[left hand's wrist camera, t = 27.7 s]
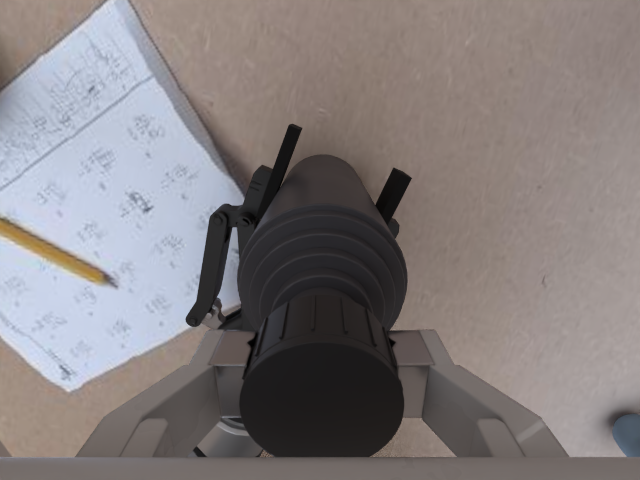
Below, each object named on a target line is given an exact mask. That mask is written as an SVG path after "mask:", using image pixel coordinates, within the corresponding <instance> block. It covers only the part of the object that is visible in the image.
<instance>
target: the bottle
mask: <svg viewBox="0 0 640 480" xmlns="http://www.w3.org/2000/svg"><path fill="white" fill-rule="evenodd" d="M237 284H238V292H239V296H240V300H241V303H242V306H243V309H244V312H245V314H246V317H247V318H248V320H249V322H250V324H251V325H252V327H253V328H254V329H255V330H258V332H259V330H260V327H261V326H262V324H263V323H264V319H265V318H266V317H267V318H268V316H269V315H270V314H271V313H272V312H274V311H275V310H276V309H277V308H279V307H280V306H282V305H283V304H285V303H286V302H289V301H291V300H294V299H297V298H300V297H304V296H309V295H319V294H320V295H334V296H339V297H344V298H347V299H349V300H352V301H354V302H356V303H358V304H360V305H361V306H363V307H364V308H367V309H369V311H370V312H371V313H372V314H373V315H374V316H375V317H376V318H377V320H378V321H379V322H380V324H381V325H382V327H385V329H386V331H389V330H390V329H391V328H392V326H393V325H394V323H395V321H396V320H397V318H398V316H399V313H400V311H401V309H402V305H403V302H404V299H405V295H406V291H407V268H406V263H405V260H404V257H403V254H402V251H401V249H400V247H399V246H398V244H397V242H396V240H395V238H394V237H393V235H392V233H391V232H390V230H389V228H388V226H387V225H386V223H385V221H384V220H383V218H382V216H381V214H380V213H379V211H378V209H377V208H376V206H375V204H374V202H373V201H372V199H371V197H370V196H369V194H368V192H367V191H366V189H365V187H364V185H363V184H362V182H361V180H360V179H359V177H358V175H357V173H356V172H355V171H354V169H353V168H352V167H351V166H350V165H349V164H348V163H346V162H345V161H343V160H342V159H340V158H337V157H334V156H331V155H314V156H311V157H308V158H306V159H304V160H302V161H300V162H299V163H298V164H296V165H295V166H294V167H293V168H292V170H291V171H290V172H289V174H288V175H287V177H286V179H285V180H284V182H283V184H282V186H281V187H280V189H279V191H278V192H277V194H276V196H275V197H274V199H273V201H272V202H271V204H270V206H269V207H268V209H267V211H266V212H265V214H264V216H263V217H262V219H261V221H260V223H259V224H258V226H257V228H256V229H255V231H254V233H253V234H252V236H251V238H250V239H249V241H248V243H247V245H246V247H245V248H244V250H243V253H242V256H241V258H240V262H239V266H238V274H237Z"/></svg>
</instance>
